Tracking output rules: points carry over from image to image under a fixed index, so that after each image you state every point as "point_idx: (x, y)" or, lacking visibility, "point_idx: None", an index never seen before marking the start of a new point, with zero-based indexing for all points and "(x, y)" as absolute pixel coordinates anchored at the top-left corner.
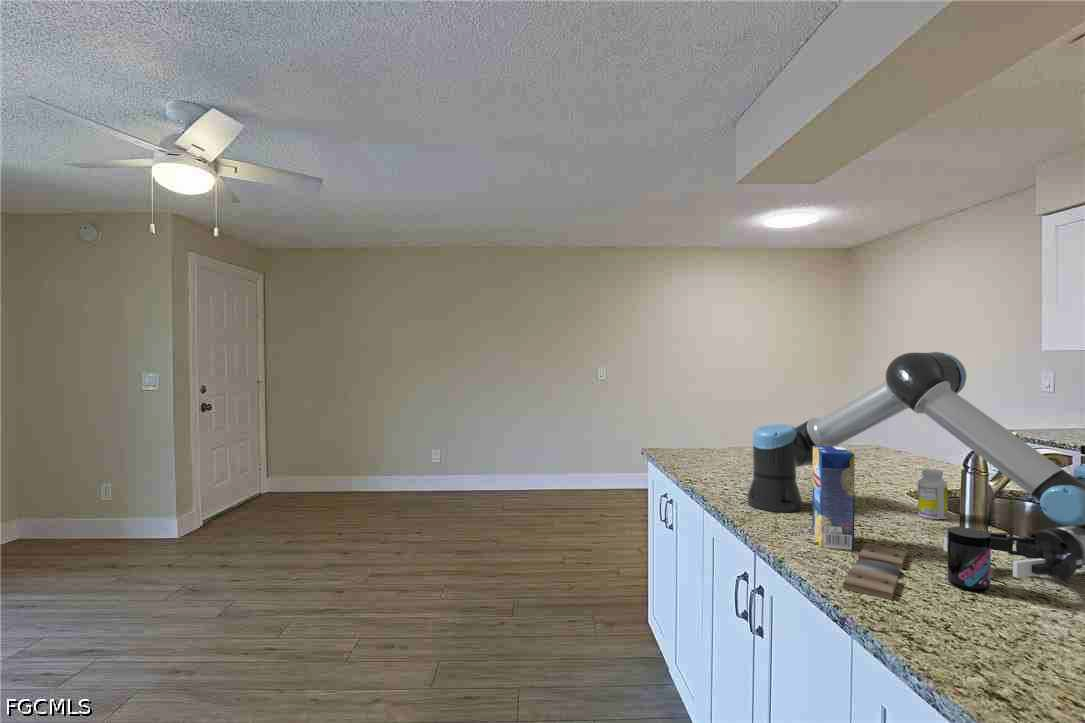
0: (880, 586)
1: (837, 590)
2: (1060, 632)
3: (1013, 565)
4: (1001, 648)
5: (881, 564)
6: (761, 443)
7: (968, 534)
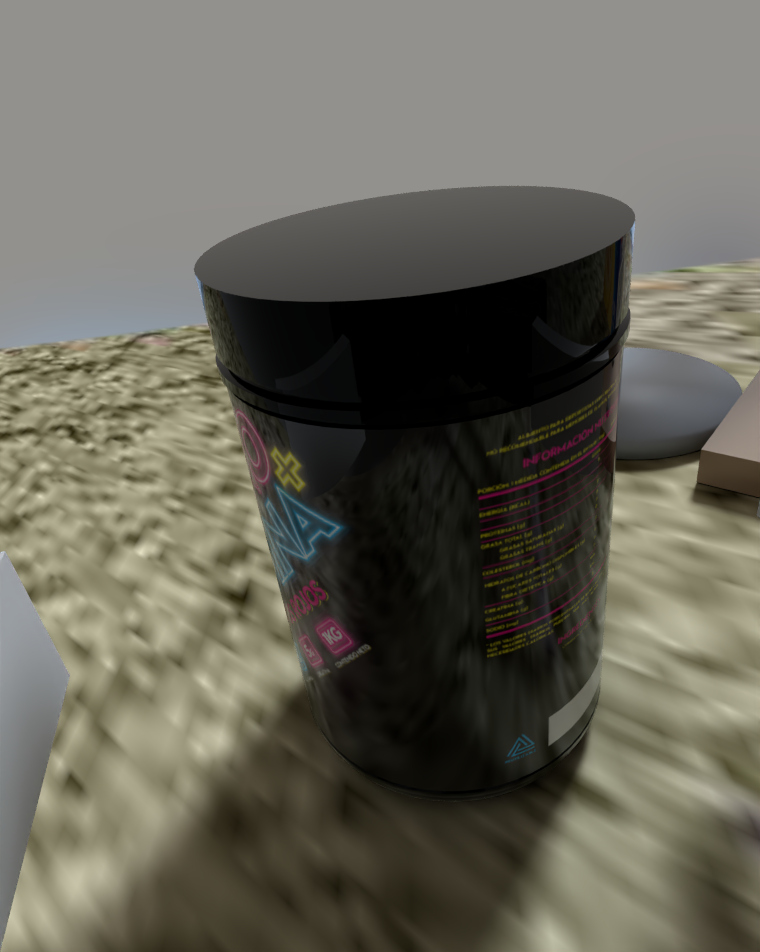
0: None
1: None
2: None
3: (16, 588)
4: None
5: (683, 405)
6: None
7: (330, 225)
